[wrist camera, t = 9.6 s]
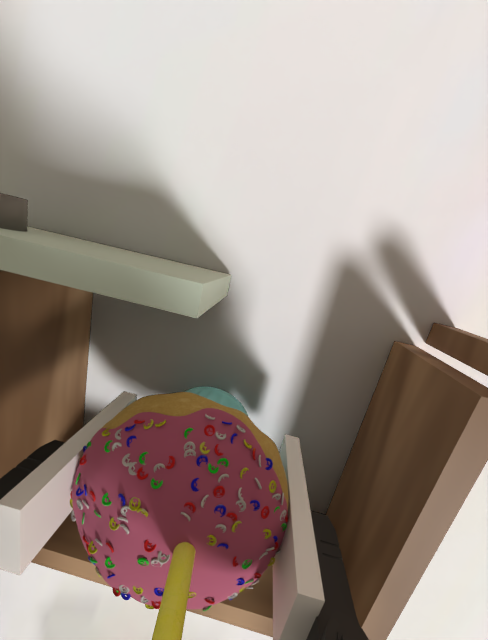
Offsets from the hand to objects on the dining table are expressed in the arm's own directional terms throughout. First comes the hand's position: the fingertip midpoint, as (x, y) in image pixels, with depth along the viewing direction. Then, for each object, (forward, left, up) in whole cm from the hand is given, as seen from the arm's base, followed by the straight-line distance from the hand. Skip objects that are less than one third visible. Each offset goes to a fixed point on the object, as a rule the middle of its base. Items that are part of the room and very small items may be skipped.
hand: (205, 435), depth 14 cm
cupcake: (0, 0, -1) cm, 1 cm away
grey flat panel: (-11, +9, -3) cm, 14 cm away
